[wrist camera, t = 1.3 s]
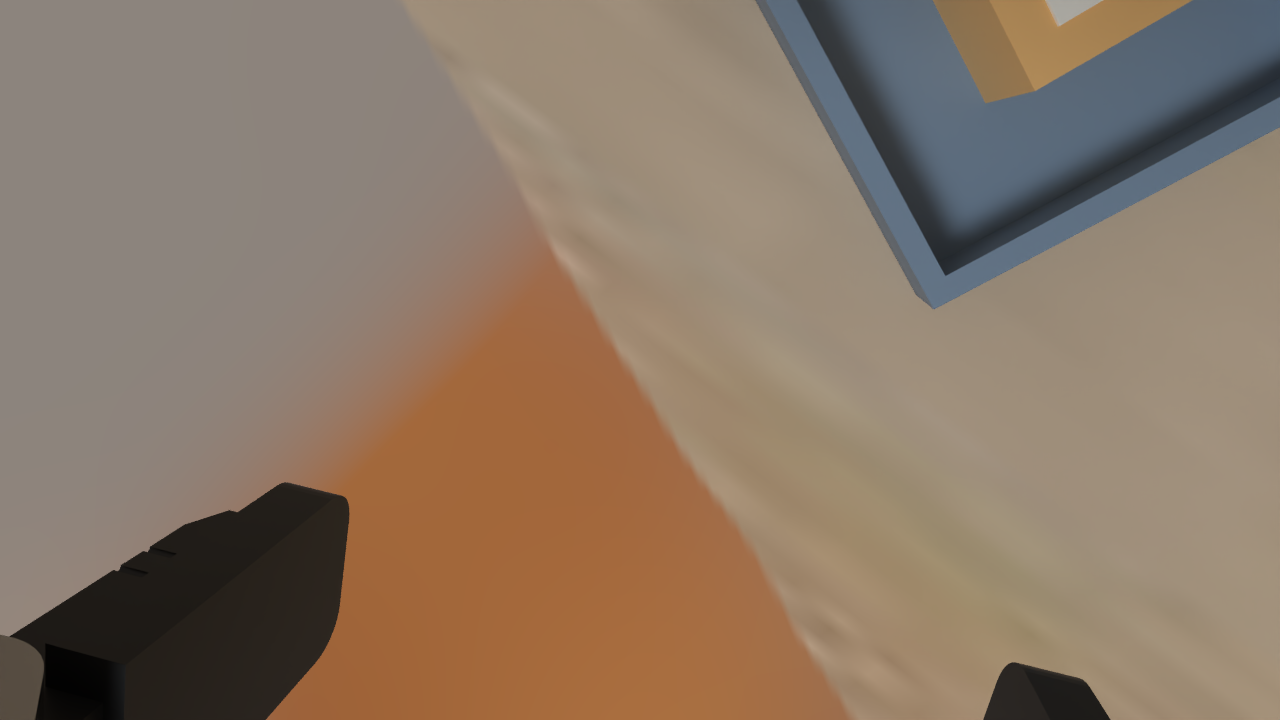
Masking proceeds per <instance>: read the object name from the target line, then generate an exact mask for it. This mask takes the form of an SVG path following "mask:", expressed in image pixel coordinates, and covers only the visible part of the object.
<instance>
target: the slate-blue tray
mask: <svg viewBox="0 0 1280 720" xmlns="http://www.w3.org/2000/svg"><path fill="white" fill-rule="evenodd" d="M756 2H757V4H758V6H759V8H760V10H761V11H762V13H763V15H764V17H765V19H766V21H767V22H768V24H769V26H770V28H771V30H772V32H773V33H774V35H775V37H776V39H777V41H778V43H779V44H780V46H781V48H782V50H783V52H784V54H785V55H786V57H787V59H788V61H789V63H790V65H791V66H792V68H793V70H794V72H795V74H796V76H797V77H798V79H799V81H800V83H801V85H802V87H803V88H804V90H805V92H806V94H807V96H808V97H809V99H810V101H811V103H812V105H813V107H814V108H815V110H816V112H817V114H818V116H819V118H820V119H821V121H822V123H823V125H824V127H825V129H826V130H827V132H828V134H829V136H830V138H831V140H832V141H833V143H834V145H835V147H836V149H837V151H838V152H839V154H840V156H841V158H842V160H843V162H844V163H845V165H846V167H847V169H848V171H849V173H850V174H851V176H852V178H853V180H854V182H855V184H856V185H857V187H858V189H859V191H860V193H861V195H862V196H863V198H864V200H865V202H866V204H867V206H868V207H869V209H870V211H871V213H872V215H873V217H874V218H875V220H876V222H877V224H878V226H879V228H880V229H881V231H882V233H883V235H884V237H885V239H886V240H887V242H888V244H889V246H890V248H891V250H892V251H893V253H894V255H895V257H896V259H897V261H898V262H899V264H900V266H901V268H902V270H903V272H904V273H905V275H906V277H907V279H908V281H909V283H910V284H911V286H912V288H913V290H914V292H915V294H916V295H917V296H918V297H919V298H921V299H922V300H923V301H924V302H925V303H927V304H928V305H929V306H930V307H931V308H933V309H935V308H937V307H939V306H941V305H943V304H945V303H947V302H949V301H951V300H953V299H954V298H956V297H958V296H960V295H962V294H964V293H966V292H968V291H970V290H972V289H973V288H975V287H977V286H979V285H981V284H983V283H985V282H987V281H989V280H991V279H992V278H994V277H996V276H998V275H1000V274H1002V273H1004V272H1006V271H1008V270H1009V269H1011V268H1013V267H1015V266H1017V265H1019V264H1021V263H1023V262H1025V261H1027V260H1028V259H1030V258H1032V257H1034V256H1036V255H1038V254H1040V253H1042V252H1044V251H1046V250H1047V249H1049V248H1051V247H1053V246H1055V245H1057V244H1059V243H1061V242H1063V241H1065V240H1066V239H1068V238H1070V237H1072V236H1074V235H1076V234H1078V233H1080V232H1082V231H1083V230H1085V229H1087V228H1089V227H1091V226H1093V225H1095V224H1097V223H1099V222H1101V221H1102V220H1104V219H1106V218H1108V217H1110V216H1112V215H1114V214H1116V213H1118V212H1120V211H1121V210H1123V209H1125V208H1127V207H1129V206H1131V205H1133V204H1135V203H1137V202H1139V201H1140V200H1142V199H1144V198H1146V197H1148V196H1150V195H1152V194H1154V193H1156V192H1157V191H1159V190H1161V189H1163V188H1165V187H1167V186H1169V185H1171V184H1173V183H1175V182H1176V181H1178V180H1180V179H1182V178H1184V177H1186V176H1188V175H1190V174H1192V173H1194V172H1195V171H1197V170H1199V169H1201V168H1203V167H1205V166H1207V165H1209V164H1211V163H1213V162H1214V161H1216V160H1218V159H1220V158H1222V157H1224V156H1226V155H1228V154H1230V153H1231V152H1233V151H1235V150H1237V149H1239V148H1241V147H1243V146H1245V145H1247V144H1249V143H1250V142H1252V141H1254V140H1256V139H1258V138H1260V137H1262V136H1264V135H1266V134H1268V133H1269V132H1271V131H1273V130H1275V129H1277V128H1279V127H1280V0H1192V1H1190V2H1189V3H1187V4H1185V5H1184V6H1182V7H1180V8H1178V9H1177V10H1175V11H1173V12H1171V13H1170V14H1168V15H1166V16H1164V17H1163V18H1161V19H1159V20H1158V21H1156V22H1154V23H1152V24H1151V25H1149V26H1147V27H1145V28H1144V29H1142V30H1140V31H1138V32H1137V33H1135V34H1133V35H1131V36H1130V37H1128V38H1126V39H1125V40H1123V41H1121V42H1119V43H1118V44H1116V45H1114V46H1112V47H1111V48H1109V49H1107V50H1105V51H1104V52H1102V53H1100V54H1099V55H1097V56H1095V57H1093V58H1092V59H1090V60H1088V61H1086V62H1085V63H1083V64H1081V65H1079V66H1078V67H1076V68H1074V69H1073V70H1071V71H1069V72H1067V73H1066V74H1064V75H1062V76H1060V77H1059V78H1057V79H1055V80H1053V81H1052V82H1050V83H1048V84H1046V85H1045V86H1043V87H1041V88H1040V89H1038V90H1036V91H1033V92H1029V93H1025V94H1021V95H1017V96H1013V97H1009V98H1005V99H1001V100H997V101H993V102H989V103H985V101H984V99H983V97H982V96H981V94H980V92H979V90H978V88H977V86H976V84H975V82H974V80H973V78H972V76H971V74H970V72H969V70H968V68H967V66H966V64H965V62H964V61H963V59H962V57H961V55H960V53H959V51H958V49H957V47H956V45H955V43H954V41H953V39H952V37H951V35H950V33H949V31H948V29H947V27H946V25H945V24H944V22H943V20H942V18H941V16H940V14H939V12H938V10H937V8H936V6H935V4H934V2H933V0H756Z"/></svg>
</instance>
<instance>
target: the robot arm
mask: <svg viewBox="0 0 1280 720" xmlns="http://www.w3.org/2000/svg"><path fill="white" fill-rule="evenodd" d="M348 524H349V505H348V502H347V499H346V498H345V497H343V496H341V495H337V494H332V493H328V492H324V491H320V490H316V489H312V488H308V487H304V486H300V485H296V484H292V483H286V482H285V483H281V484H279V485H277V486H276V487H274V488H273V489H271V490H270V491H268V492H267V493H265V494H264V495H263V496H261V497H260V498H258V499H257V500H256V501H254V502H252V503H251V504H249V505H248V506H247V507H245V508H243V509H242V510H240V511H239V512H234V511H230V510H229V511H226V512H223V513H219V514H216V515H213V516H210V517H207V518H204V519H201V520H198V521H195V522H191V523H188V524H185V525H183V526H182V527H180V528H179V529H177V530H176V531H174V532H172V533H171V534H169V535H168V536H166V537H165V538H163V539H161V540H160V541H158V542H157V543H155V544H154V545H152V546H150V550H149V551H148V552H145V551H143V552H141V553H140V554H138V555H136V556H135V557H133V558H132V559H130V560H129V561H127V562H126V563H124V564H122V565H121V567H120V570H119V571H115V570H113V571H111V572H110V573H108V574H107V575H105V576H104V577H102V578H100V579H99V580H97V581H96V582H94V583H92V584H91V585H89V586H88V587H87V588H85V589H83V590H81V591H80V592H78V593H77V594H75V595H74V596H72V597H71V598H69V599H67V600H66V601H64V602H63V603H61V604H60V605H58V606H56V607H55V608H53V609H52V610H50V611H49V612H47V613H45V614H44V615H42V616H41V617H39V618H38V619H36V620H35V621H33V622H32V623H30V624H28V625H27V626H25V627H24V628H22V629H20V630H19V631H17V632H16V633H14V634H13V635H11V636H9V637H8V636H4V635H0V720H266V719H267V718H268V716H269V715H270V714H271V713H272V712H273V711H274V709H275V708H276V707H277V706H278V705H279V704H280V703H281V701H282V700H283V699H284V698H285V697H286V696H287V695H288V693H289V692H290V691H291V690H292V689H293V688H294V687H295V686H296V684H297V683H298V682H299V681H300V680H301V679H302V678H303V676H304V675H305V674H306V673H307V672H308V671H309V669H310V668H311V667H312V666H313V665H314V664H315V662H316V661H317V660H318V659H319V657H320V656H321V655H322V653H323V651H324V650H325V648H326V646H327V644H328V642H329V640H330V638H331V635H332V633H333V630H334V627H335V624H336V621H337V616H338V613H339V606H340V598H341V587H342V579H343V570H344V561H345V552H346V542H347V533H348ZM983 720H1110V718H1109V717H1108V715H1107V714H1106V712H1105V710H1104V709H1103V707H1102V706H1101V704H1100V703H1099V701H1098V699H1097V698H1096V696H1095V695H1094V693H1093V692H1092V690H1091V688H1090V687H1089V686H1088V684H1087V683H1086V682H1085V681H1084V680H1082V679H1080V678H1077V677H1072V676H1068V675H1064V674H1060V673H1056V672H1052V671H1048V670H1044V669H1040V668H1036V667H1032V666H1028V665H1024V664H1019V663H1010V664H1008V665H1007V666H1006V667H1005V668H1004V669H1003V670H1002V672H1001V674H1000V676H999V678H998V680H997V683H996V686H995V689H994V691H993V694H992V697H991V700H990V703H989V705H988V708H987V711H986V714H985V717H984V719H983Z"/></svg>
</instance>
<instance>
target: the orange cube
mask: <svg viewBox="0 0 1280 720" xmlns="http://www.w3.org/2000/svg"><path fill="white" fill-rule="evenodd" d="M1190 1H1192V0H933V2H934V4H935V6H936V8H937V10H938V12H939V14H940V16H941V18H942V20H943V22H944V24H945V25H946V27H947V29H948V31H949V33H950V35H951V37H952V39H953V41H954V43H955V45H956V47H957V49H958V51H959V53H960V55H961V57H962V59H963V61H964V62H965V64H966V66H967V68H968V70H969V72H970V74H971V76H972V78H973V80H974V82H975V84H976V86H977V88H978V90H979V92H980V94H981V96H982V97H983V99H984V101H985V103H989V102H993V101H997V100H1001V99H1005V98H1009V97H1013V96H1017V95H1021V94H1025V93H1029V92H1033V91H1036V90H1038V89H1040V88H1041V87H1043V86H1045V85H1046V84H1048V83H1050V82H1052V81H1053V80H1055V79H1057V78H1059V77H1060V76H1062V75H1064V74H1066V73H1067V72H1069V71H1071V70H1073V69H1074V68H1076V67H1078V66H1079V65H1081V64H1083V63H1085V62H1086V61H1088V60H1090V59H1092V58H1093V57H1095V56H1097V55H1099V54H1100V53H1102V52H1104V51H1105V50H1107V49H1109V48H1111V47H1112V46H1114V45H1116V44H1118V43H1119V42H1121V41H1123V40H1125V39H1126V38H1128V37H1130V36H1131V35H1133V34H1135V33H1137V32H1138V31H1140V30H1142V29H1144V28H1145V27H1147V26H1149V25H1151V24H1152V23H1154V22H1156V21H1158V20H1159V19H1161V18H1163V17H1164V16H1166V15H1168V14H1170V13H1171V12H1173V11H1175V10H1177V9H1178V8H1180V7H1182V6H1184V5H1185V4H1187V3H1189V2H1190Z"/></svg>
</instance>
